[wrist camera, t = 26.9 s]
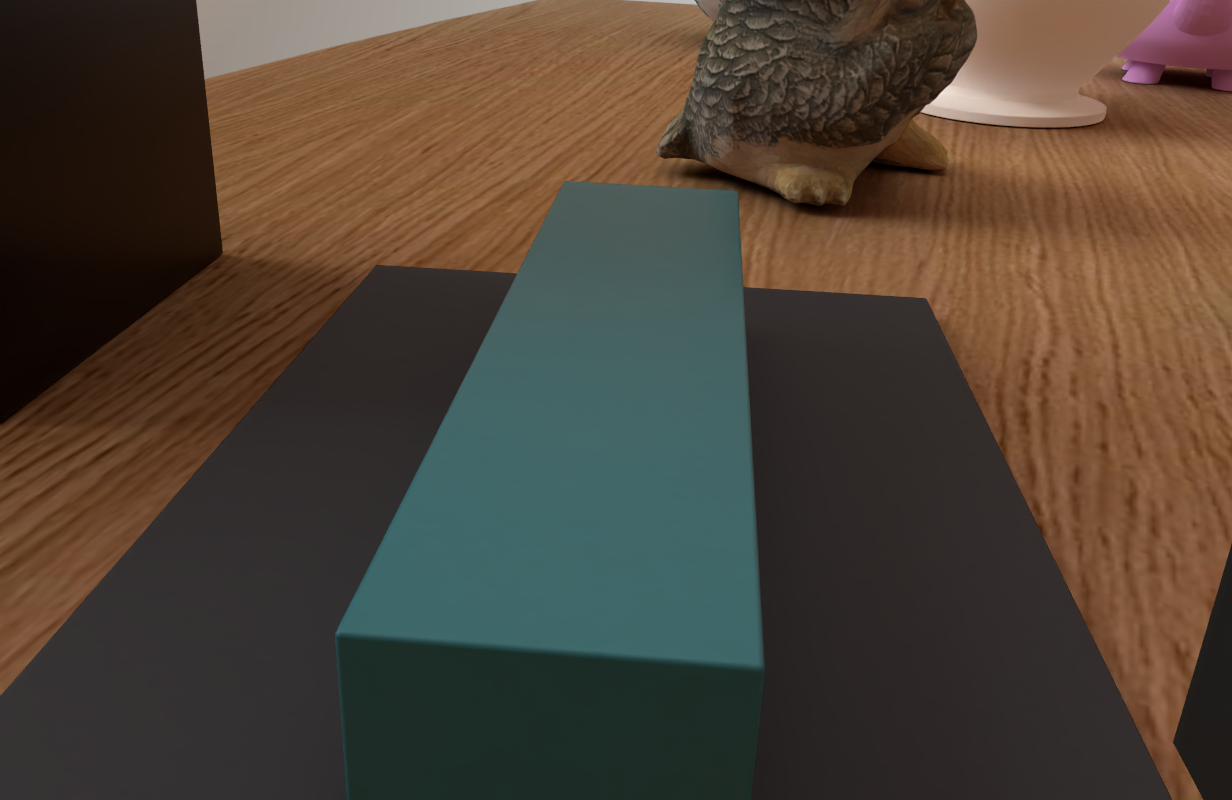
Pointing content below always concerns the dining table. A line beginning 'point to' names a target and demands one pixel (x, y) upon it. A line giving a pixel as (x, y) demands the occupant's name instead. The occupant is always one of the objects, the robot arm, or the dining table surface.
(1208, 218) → the dining table surface
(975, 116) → the decorative vase
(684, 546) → the teal rectangular block
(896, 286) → the dining table surface
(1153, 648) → the dining table surface
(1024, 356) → the dining table surface
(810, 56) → the figurine
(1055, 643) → the mat
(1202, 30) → the teapot
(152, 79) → the shelf stand
